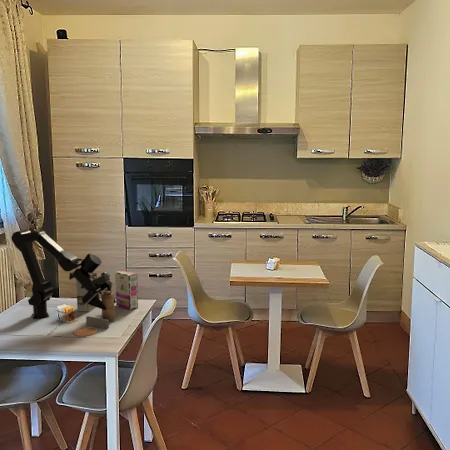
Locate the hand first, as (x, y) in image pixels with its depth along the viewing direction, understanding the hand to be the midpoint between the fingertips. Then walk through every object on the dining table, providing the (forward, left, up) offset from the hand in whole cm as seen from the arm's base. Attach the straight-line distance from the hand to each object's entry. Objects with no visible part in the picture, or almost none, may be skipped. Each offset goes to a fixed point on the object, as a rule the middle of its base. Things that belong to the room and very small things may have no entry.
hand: (110, 306), depth 206 cm
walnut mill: (-1, -1, -7) cm, 7 cm away
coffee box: (-23, -5, -7) cm, 24 cm away
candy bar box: (-17, +12, -7) cm, 22 cm away
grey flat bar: (+3, -7, -7) cm, 10 cm away
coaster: (+8, -12, -7) cm, 16 cm away
